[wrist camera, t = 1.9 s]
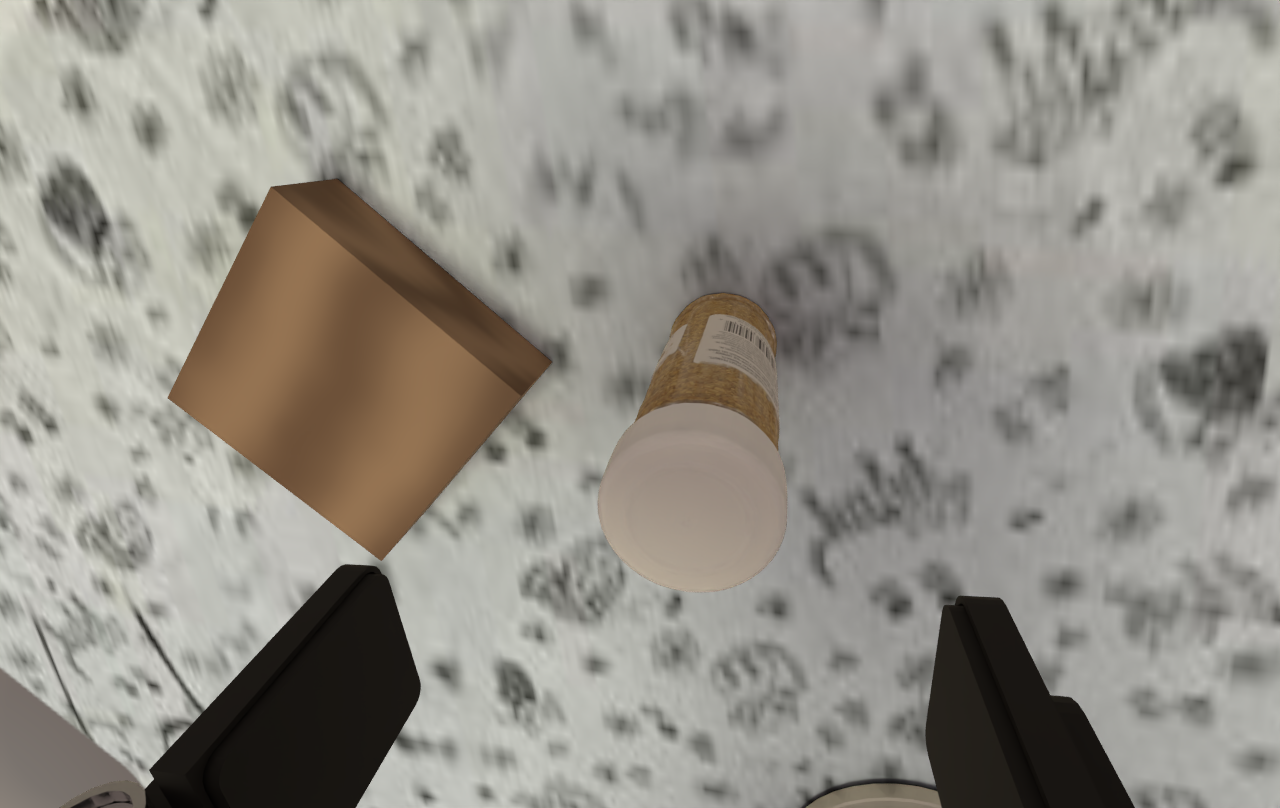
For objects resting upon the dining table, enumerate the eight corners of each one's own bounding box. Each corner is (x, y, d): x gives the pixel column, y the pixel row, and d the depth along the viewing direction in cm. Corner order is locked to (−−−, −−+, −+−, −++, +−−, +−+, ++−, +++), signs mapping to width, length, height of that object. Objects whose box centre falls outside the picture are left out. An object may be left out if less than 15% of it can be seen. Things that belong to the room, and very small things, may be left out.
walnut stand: (552, 362, 29) (521, 396, 25) (422, 514, 34) (381, 561, 30) (337, 178, 27) (270, 186, 23) (235, 367, 32) (167, 397, 28)
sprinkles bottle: (651, 324, 27) (555, 484, 15) (745, 269, 25) (724, 400, 13) (705, 409, 28) (658, 623, 16) (798, 363, 26) (824, 562, 14)
